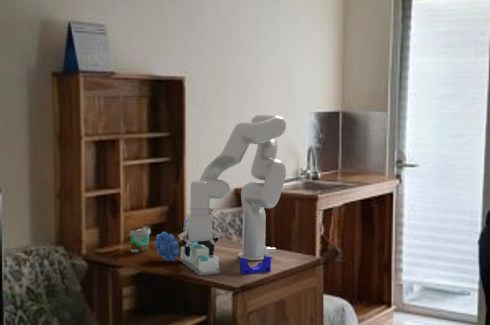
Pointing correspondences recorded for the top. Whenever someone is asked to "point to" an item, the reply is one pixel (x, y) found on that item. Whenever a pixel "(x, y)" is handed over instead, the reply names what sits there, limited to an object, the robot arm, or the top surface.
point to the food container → (140, 240)
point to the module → (198, 252)
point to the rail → (201, 263)
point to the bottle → (206, 243)
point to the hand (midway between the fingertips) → (199, 254)
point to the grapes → (166, 246)
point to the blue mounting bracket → (260, 267)
